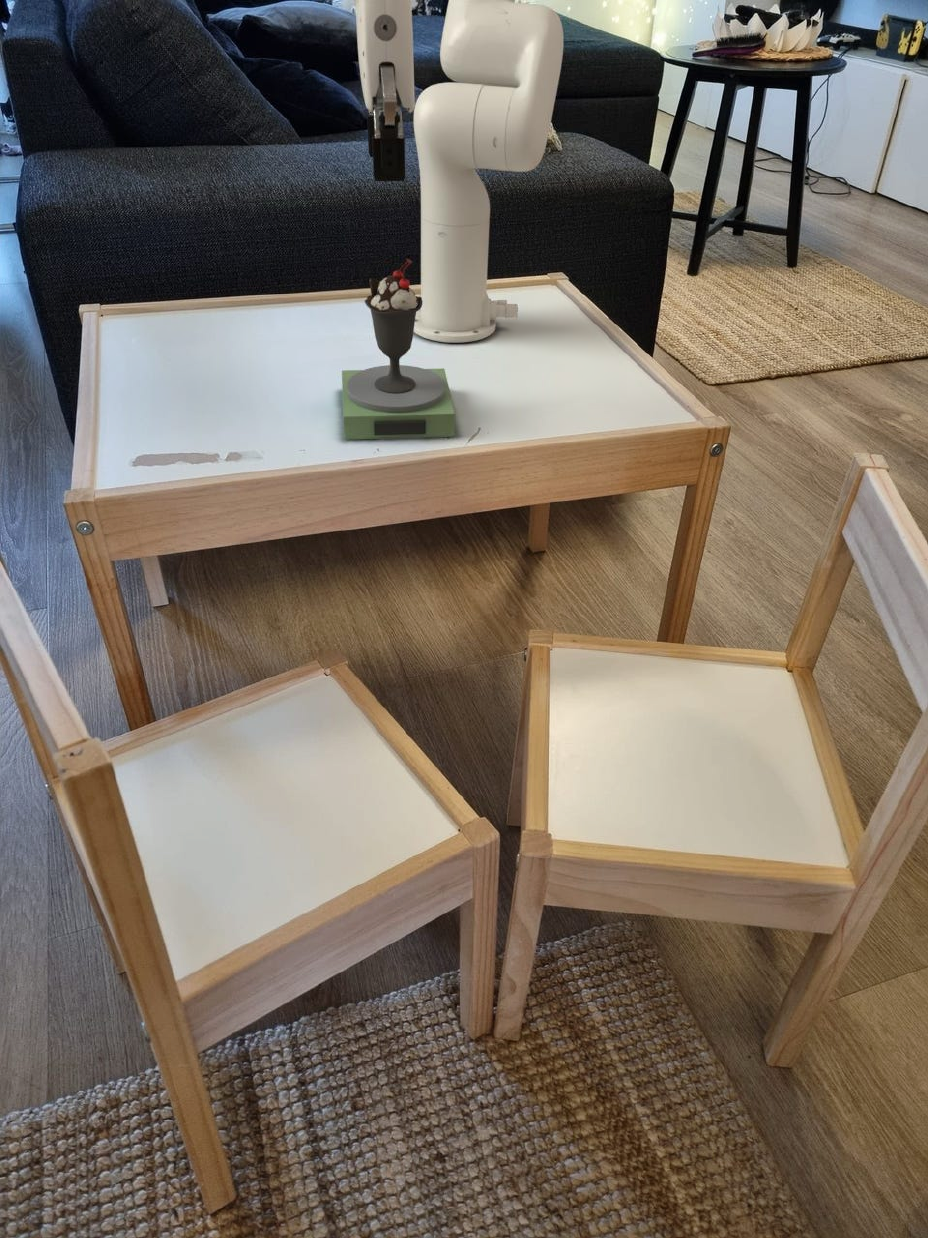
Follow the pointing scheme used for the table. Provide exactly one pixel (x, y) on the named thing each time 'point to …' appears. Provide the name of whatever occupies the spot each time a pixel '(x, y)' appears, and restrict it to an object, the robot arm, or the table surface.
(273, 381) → the table surface
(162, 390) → the table surface
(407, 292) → the sundae
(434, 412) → the scale
